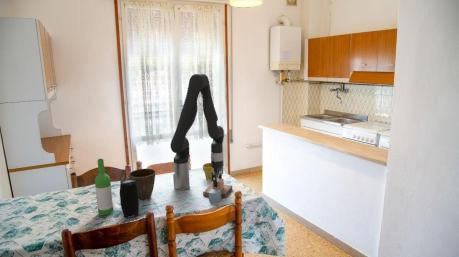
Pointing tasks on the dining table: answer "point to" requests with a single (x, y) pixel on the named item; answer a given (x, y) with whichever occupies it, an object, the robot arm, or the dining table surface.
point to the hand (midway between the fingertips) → (217, 184)
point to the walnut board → (224, 191)
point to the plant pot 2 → (208, 171)
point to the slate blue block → (214, 195)
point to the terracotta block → (218, 184)
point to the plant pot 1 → (144, 182)
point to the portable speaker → (129, 197)
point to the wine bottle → (103, 190)
